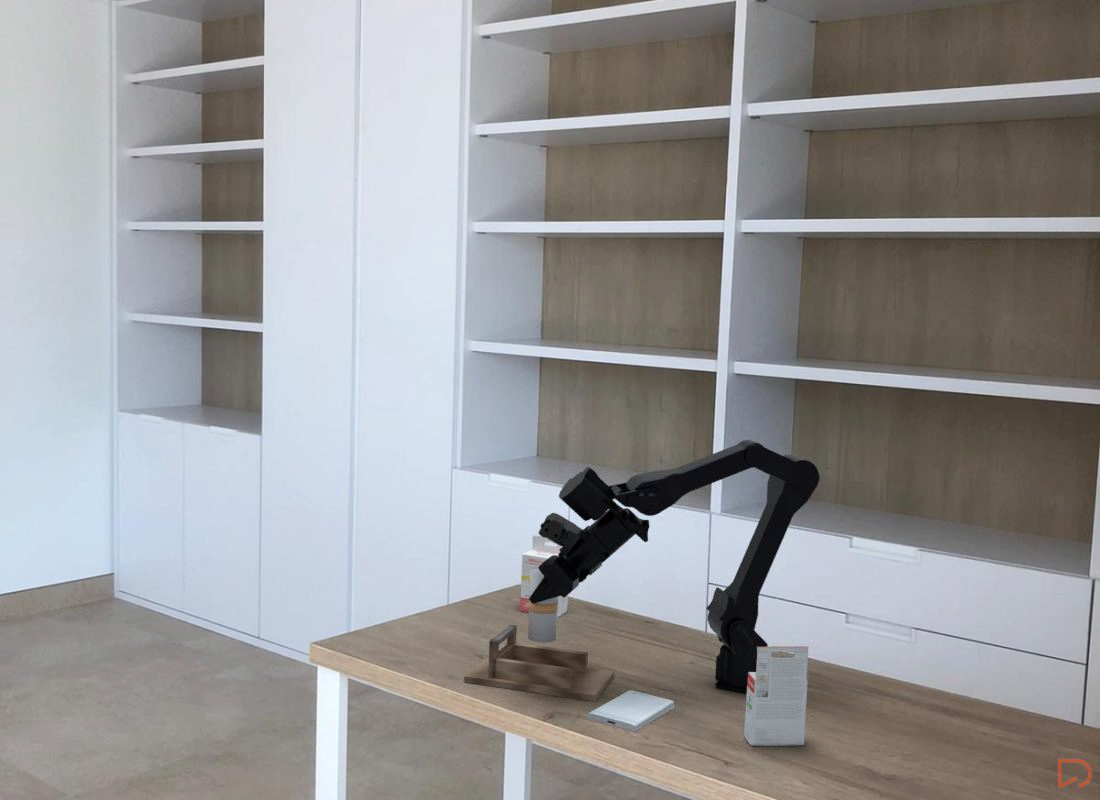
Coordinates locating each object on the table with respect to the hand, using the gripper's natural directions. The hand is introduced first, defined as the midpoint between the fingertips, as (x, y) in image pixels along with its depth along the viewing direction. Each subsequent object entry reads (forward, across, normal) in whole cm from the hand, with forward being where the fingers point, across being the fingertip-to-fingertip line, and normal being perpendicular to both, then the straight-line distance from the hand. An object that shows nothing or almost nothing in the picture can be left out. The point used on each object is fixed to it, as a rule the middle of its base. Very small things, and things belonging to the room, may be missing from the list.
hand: (535, 597), depth 185 cm
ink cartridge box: (+17, -38, +2) cm, 42 cm away
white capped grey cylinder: (+4, 0, +6) cm, 7 cm away
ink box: (-19, +12, +38) cm, 44 cm away
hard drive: (-3, +8, +23) cm, 25 cm away
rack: (+9, 0, +10) cm, 14 cm away
